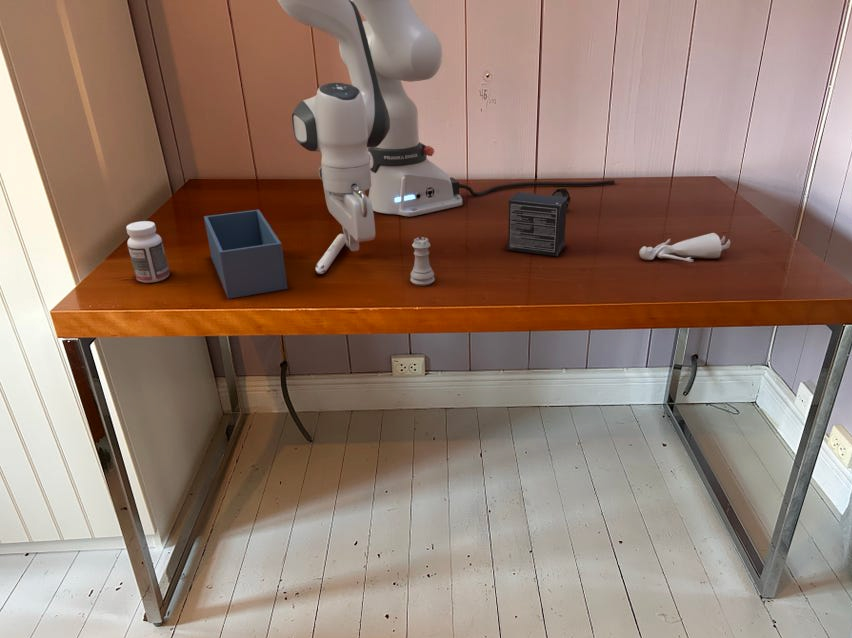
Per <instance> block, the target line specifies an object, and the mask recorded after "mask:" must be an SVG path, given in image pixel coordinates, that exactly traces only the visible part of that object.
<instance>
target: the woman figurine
mask: <svg viewBox="0 0 852 638" xmlns="http://www.w3.org/2000/svg"><path fill="white" fill-rule="evenodd" d="M722 236H723V237H722V238H721V239H720V236H719V235H718V234H717V233H715V232H711V233H707V234H703V235H699V236H696V237H692V238H687V239H684V240H681V241H679V242H676V243H674V244H672V245H669V243H670V242H671V240H672V238H668V239H667V240H666V241H665V242H662V243H659V244H657V245H656V246H655V247H652V246H645V245H644V246H642V247H641V248H640V249H639V251H638V254H639V255H638V256H639V257H640V258H641V259H642V260H644V261H651V260H654V259H655V258H656V257H657V258H660V259H672V260H678V261H684V262H687V263H694V259H715V260H717V259H719V258H720V257H721V254H722V251H724V250H727V249H730V248H731V246H730V245H731V240H730V239H727V242H726V243H725V241H726V236H725V235H722ZM692 258H693V259H692Z"/></svg>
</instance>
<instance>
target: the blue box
mask: <svg viewBox="0 0 852 638" xmlns="http://www.w3.org/2000/svg"><path fill="white" fill-rule="evenodd" d="M203 219H204V224H205V230H206V235H207V241H208V245H209V252H210V257H211V260H212V263H213V265H214V267H215V270H216V272H217V276H218V278H219V280H220V282H221V285H222V288H223V290H224V292H225V295H226V297H227V299H234V298H241V297H246V296H253V295H258V294H259V295H260V294H266V293H270V292H277V291H282V290H288V281H287V274H286V267H285V260H284V252H283V246H282V242H281V241H280V240H279V237H278V236H277V235H276V233H275V232H274V230H273V228H272V227H271V226H270V224H269V222H268V221H267V220H266V218H265V217H264V215H263V213H262V211H261V210H260V209H253V210H245V211H236V212H235V211H234V212H229V213H220V214H219V213H218V214H213V215H205V216H203Z"/></svg>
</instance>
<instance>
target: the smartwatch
mask: <svg viewBox="0 0 852 638" xmlns="http://www.w3.org/2000/svg"><path fill="white" fill-rule="evenodd" d="M551 196H560V197H567V208H569V205H570V204H571V196H570V192H569V191H568V190H567V188H566V187H563V188H561V187H560V188H557V189H556V190H555V191H553V193H552V195H551Z"/></svg>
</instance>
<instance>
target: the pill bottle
mask: <svg viewBox="0 0 852 638" xmlns="http://www.w3.org/2000/svg"><path fill="white" fill-rule="evenodd" d="M156 231H157V227H156V224H155V222H154V221H149V220H142V221H135V222H131V223H128V224H127V225H126V234H127V235H128V236H129V238H128V239H127V243H126V244H127V249H128V253H129V255H130V256H129V257H130V261H131V263H132V264H131V265H132V267H133V273H134V275H135V279H136V280H137V281H138V282H140V283H145V284H151V283H158V282H161V281H164V280H166V279H167V278H169V276H170V267H169V264H168V260H167V256H166V252H165V246H164V242H163V239H162V237H161V236H160V235H159V234H158V233H156Z"/></svg>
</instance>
